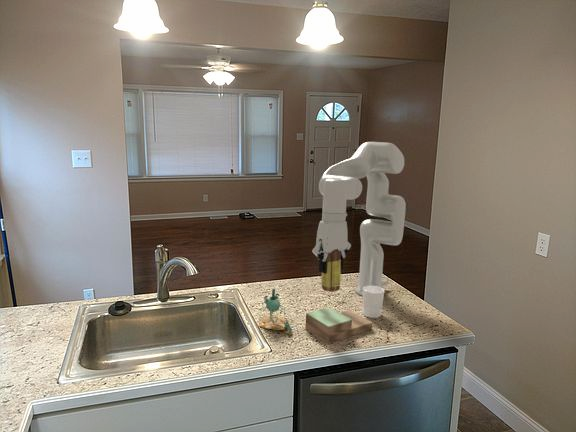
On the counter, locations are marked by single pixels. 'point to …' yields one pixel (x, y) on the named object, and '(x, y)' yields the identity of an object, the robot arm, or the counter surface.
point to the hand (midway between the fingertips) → (331, 270)
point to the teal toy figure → (274, 321)
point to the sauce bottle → (332, 272)
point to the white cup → (372, 301)
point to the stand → (335, 324)
